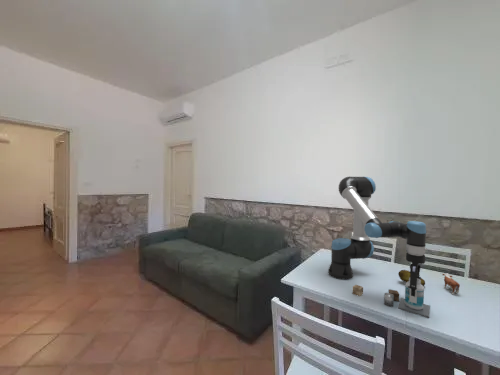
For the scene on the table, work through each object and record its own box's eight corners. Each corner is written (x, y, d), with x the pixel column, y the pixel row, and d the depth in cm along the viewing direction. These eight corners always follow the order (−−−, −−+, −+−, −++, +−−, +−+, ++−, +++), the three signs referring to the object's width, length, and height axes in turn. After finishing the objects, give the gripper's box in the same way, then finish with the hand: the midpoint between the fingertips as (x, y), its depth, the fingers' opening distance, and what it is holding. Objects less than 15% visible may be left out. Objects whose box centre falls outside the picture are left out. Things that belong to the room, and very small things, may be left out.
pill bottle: (401, 302, 117) (402, 275, 116) (416, 302, 117) (417, 276, 116) (411, 310, 109) (412, 282, 109) (427, 310, 109) (428, 282, 109)
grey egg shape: (383, 304, 116) (383, 294, 116) (385, 301, 119) (385, 292, 119) (392, 307, 113) (393, 297, 113) (394, 304, 116) (394, 294, 116)
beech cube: (352, 293, 127) (352, 286, 127) (355, 291, 130) (355, 284, 129) (359, 296, 124) (360, 289, 124) (363, 294, 127) (363, 287, 126)
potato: (422, 290, 131) (423, 276, 131) (396, 283, 140) (397, 270, 140) (425, 286, 137) (426, 272, 137) (400, 279, 146) (401, 266, 146)
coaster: (397, 308, 112) (397, 307, 112) (401, 299, 121) (401, 297, 121) (428, 318, 105) (429, 316, 105) (430, 307, 114) (430, 305, 114)
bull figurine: (449, 286, 137) (449, 272, 137) (461, 296, 125) (461, 281, 124) (440, 285, 139) (440, 271, 139) (451, 295, 126) (451, 280, 126)
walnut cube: (390, 300, 120) (390, 292, 120) (388, 296, 124) (388, 289, 124) (399, 301, 119) (399, 294, 119) (397, 298, 123) (397, 290, 123)
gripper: (423, 262, 100) (422, 310, 101) (426, 249, 119) (425, 290, 120) (402, 258, 105) (401, 304, 106) (409, 246, 124) (408, 285, 125)
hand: (414, 296), depth 113 cm, fingers open, 13 cm apart
